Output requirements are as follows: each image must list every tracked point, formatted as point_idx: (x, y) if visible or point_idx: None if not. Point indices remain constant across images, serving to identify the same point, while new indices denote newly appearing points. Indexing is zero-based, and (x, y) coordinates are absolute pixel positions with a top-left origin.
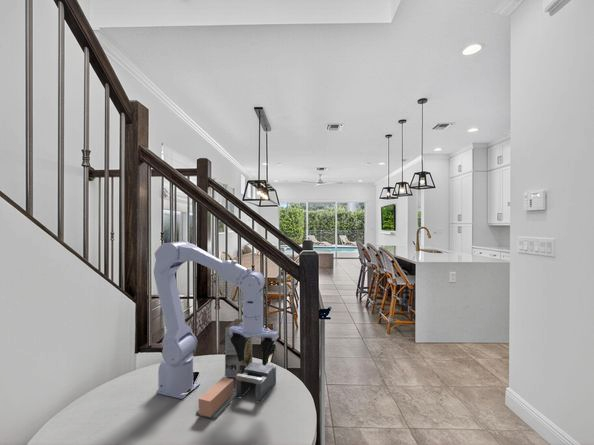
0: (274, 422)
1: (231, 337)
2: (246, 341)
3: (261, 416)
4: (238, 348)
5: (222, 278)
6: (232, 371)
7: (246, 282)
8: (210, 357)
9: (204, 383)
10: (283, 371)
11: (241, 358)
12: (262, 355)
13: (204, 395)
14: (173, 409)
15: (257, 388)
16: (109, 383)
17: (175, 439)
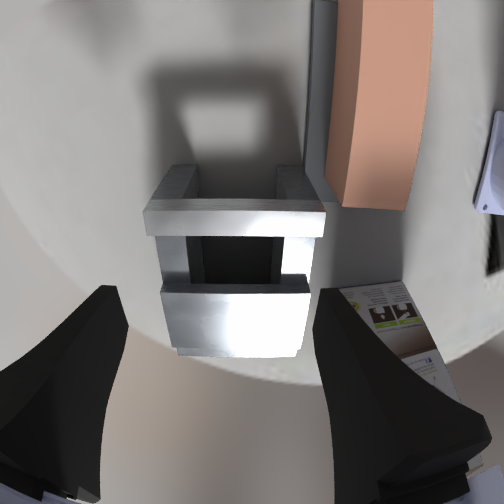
0: (63, 78)
1: (478, 453)
2: None
3: (122, 83)
4: (364, 371)
5: None
6: (381, 300)
7: None
8: (463, 346)
9: (460, 222)
10: (198, 359)
11: (321, 313)
12: (75, 338)
13: (423, 27)
14: (492, 51)
15: (176, 188)
16: None
17: None
